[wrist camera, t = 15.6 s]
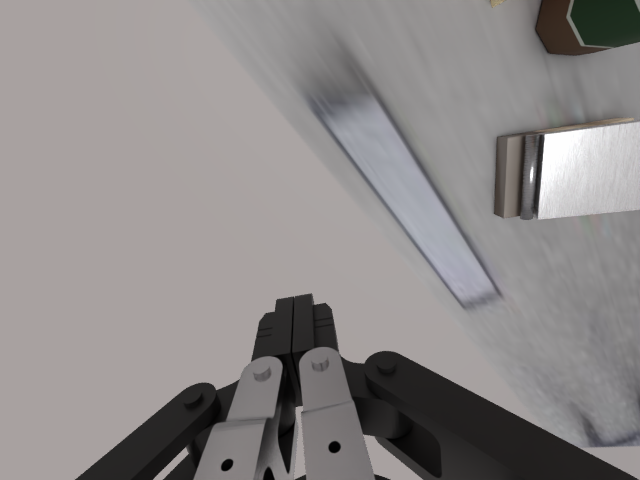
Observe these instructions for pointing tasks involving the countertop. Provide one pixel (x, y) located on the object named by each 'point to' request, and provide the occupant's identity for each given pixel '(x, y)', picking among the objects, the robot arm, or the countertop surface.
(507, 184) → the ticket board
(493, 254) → the countertop surface
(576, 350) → the countertop surface
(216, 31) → the countertop surface
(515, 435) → the robot arm
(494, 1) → the milk carton
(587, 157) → the slab
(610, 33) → the beer bottle
